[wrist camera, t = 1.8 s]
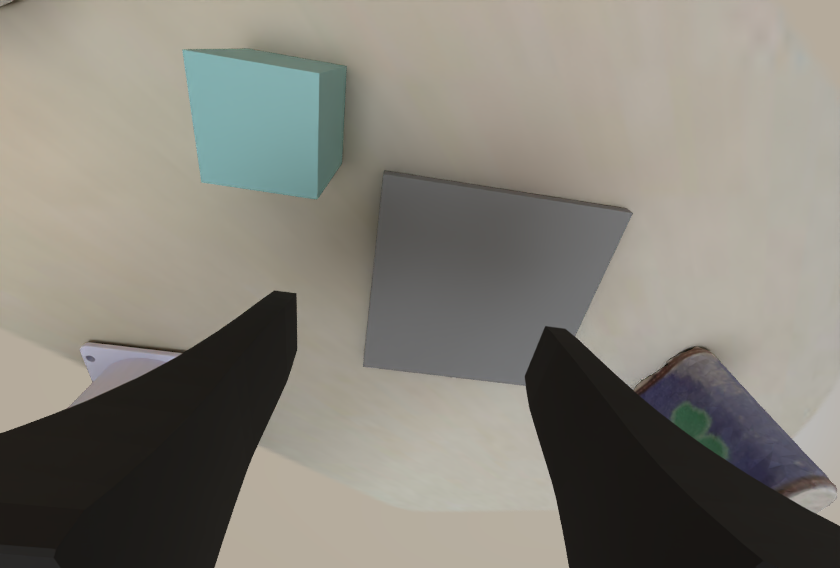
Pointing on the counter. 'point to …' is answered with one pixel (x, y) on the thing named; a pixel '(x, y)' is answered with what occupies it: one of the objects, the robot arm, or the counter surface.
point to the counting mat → (480, 275)
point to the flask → (734, 426)
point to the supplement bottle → (4, 2)
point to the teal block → (266, 119)
